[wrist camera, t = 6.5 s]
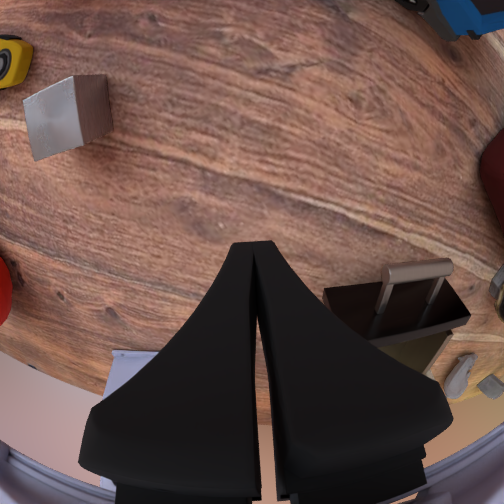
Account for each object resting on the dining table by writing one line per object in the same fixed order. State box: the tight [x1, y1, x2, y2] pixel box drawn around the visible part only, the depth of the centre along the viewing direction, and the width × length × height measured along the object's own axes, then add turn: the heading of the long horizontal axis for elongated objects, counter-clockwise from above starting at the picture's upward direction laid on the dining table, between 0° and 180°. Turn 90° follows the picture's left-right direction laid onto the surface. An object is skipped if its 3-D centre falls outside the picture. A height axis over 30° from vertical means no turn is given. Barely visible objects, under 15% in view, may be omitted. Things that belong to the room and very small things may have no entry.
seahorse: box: [444, 353, 478, 399], centre depth 37 cm, size 5×12×20 cm
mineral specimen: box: [477, 374, 504, 399], centre depth 45 cm, size 7×9×8 cm
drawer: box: [322, 258, 471, 375], centre depth 22 cm, size 19×12×6 cm, turn 3°
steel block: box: [23, 74, 113, 162], centre depth 12 cm, size 4×4×4 cm
